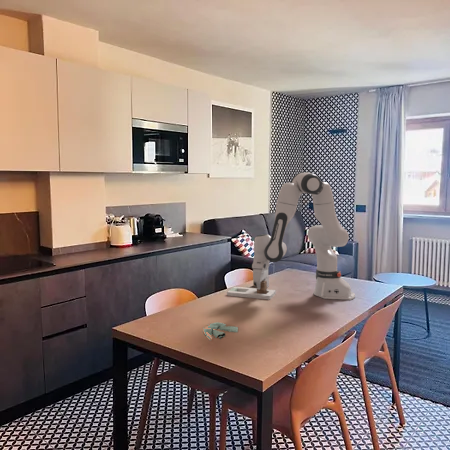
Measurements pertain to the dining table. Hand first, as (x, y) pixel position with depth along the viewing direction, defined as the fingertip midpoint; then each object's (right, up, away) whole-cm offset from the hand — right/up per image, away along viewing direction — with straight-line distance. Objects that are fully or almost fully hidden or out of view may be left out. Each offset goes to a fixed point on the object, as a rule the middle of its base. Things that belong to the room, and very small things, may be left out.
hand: (261, 287), depth 235 cm
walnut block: (+1, -5, +1) cm, 5 cm away
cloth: (-22, -12, -55) cm, 60 cm away
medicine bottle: (+2, -3, +22) cm, 22 cm away
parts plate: (-5, -5, +3) cm, 8 cm away
